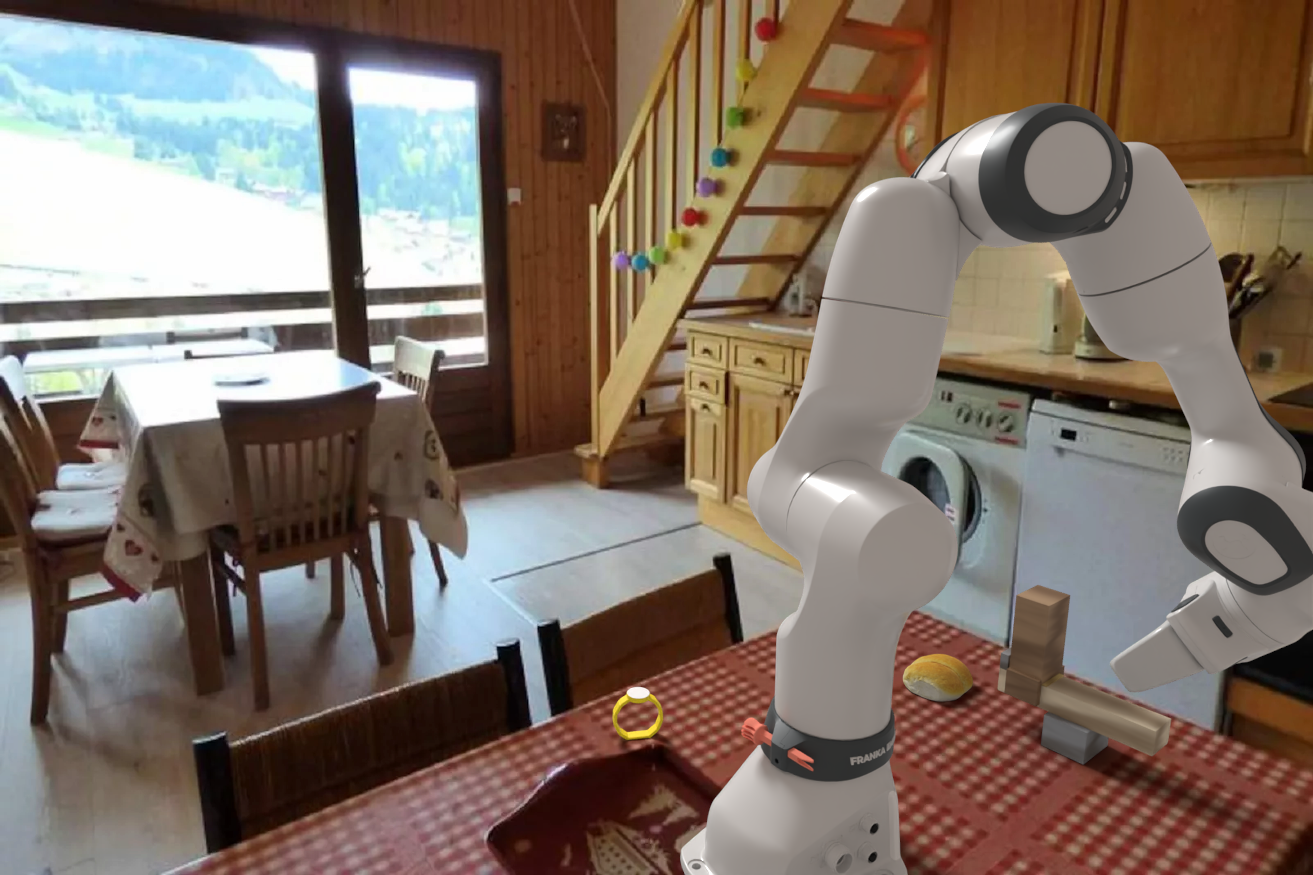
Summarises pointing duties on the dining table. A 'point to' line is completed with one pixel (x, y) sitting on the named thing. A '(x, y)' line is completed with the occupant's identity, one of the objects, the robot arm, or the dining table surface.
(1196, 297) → the robot arm
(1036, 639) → the plate
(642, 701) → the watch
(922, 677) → the bread roll
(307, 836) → the dining table surface
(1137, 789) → the dining table surface
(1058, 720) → the seesaw
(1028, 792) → the dining table surface
